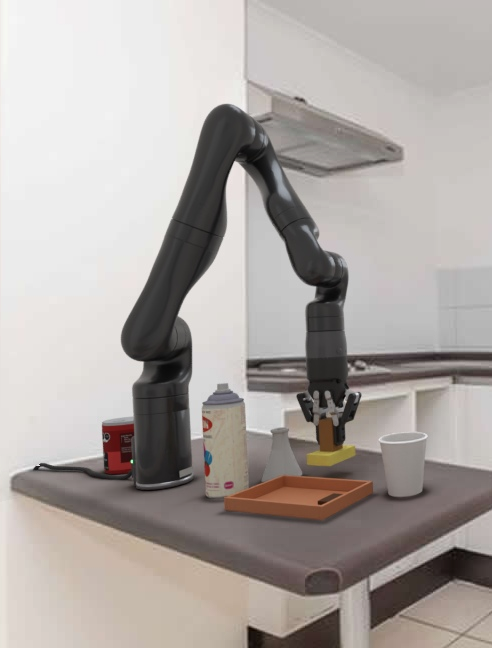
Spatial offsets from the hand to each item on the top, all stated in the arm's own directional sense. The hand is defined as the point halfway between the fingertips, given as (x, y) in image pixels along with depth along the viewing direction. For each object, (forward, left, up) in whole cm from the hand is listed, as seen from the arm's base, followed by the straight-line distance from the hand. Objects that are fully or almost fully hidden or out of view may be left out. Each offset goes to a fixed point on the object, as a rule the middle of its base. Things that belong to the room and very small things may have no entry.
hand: (330, 443), depth 106 cm
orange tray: (+4, -13, -7) cm, 15 cm away
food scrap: (+11, -13, -6) cm, 18 cm away
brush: (0, 0, -3) cm, 3 cm away
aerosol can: (-13, -12, -7) cm, 19 cm away
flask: (-10, -2, -7) cm, 13 cm away
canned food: (-51, -3, -7) cm, 52 cm away
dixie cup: (+19, -5, -7) cm, 21 cm away
